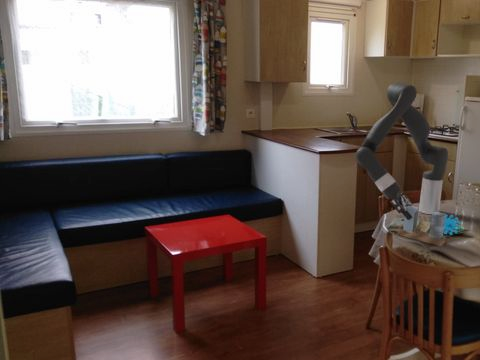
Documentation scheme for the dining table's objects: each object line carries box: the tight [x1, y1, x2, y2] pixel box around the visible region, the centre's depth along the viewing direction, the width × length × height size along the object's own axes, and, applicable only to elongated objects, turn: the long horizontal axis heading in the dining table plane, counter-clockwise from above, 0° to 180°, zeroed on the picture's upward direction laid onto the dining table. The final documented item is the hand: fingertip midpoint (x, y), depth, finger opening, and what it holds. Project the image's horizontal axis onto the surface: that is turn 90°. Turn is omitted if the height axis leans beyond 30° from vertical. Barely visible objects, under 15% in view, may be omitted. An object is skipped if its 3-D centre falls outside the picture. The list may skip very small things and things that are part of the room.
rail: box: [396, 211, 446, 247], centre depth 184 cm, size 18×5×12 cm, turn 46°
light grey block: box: [402, 205, 419, 232], centre depth 186 cm, size 4×4×10 cm
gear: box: [443, 213, 465, 236], centre depth 193 cm, size 11×6×10 cm
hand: (412, 216), depth 186 cm, fingers open, 8 cm apart
